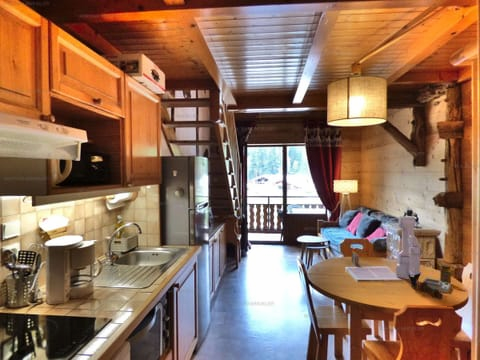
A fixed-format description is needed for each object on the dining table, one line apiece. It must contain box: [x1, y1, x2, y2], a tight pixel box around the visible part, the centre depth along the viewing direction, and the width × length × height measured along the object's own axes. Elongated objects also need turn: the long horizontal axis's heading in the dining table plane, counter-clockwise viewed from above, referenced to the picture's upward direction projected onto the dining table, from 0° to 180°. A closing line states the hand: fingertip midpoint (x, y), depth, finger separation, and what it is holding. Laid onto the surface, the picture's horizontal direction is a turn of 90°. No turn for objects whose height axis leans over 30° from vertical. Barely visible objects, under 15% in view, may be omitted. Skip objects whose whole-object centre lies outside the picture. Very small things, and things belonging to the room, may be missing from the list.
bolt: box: [418, 281, 444, 299], centre depth 190 cm, size 6×5×15 cm
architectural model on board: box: [351, 249, 360, 266], centre depth 254 cm, size 11×3×10 cm, turn 174°
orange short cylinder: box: [410, 279, 419, 289], centre depth 202 cm, size 4×4×6 cm
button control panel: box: [422, 277, 451, 294], centre depth 201 cm, size 14×12×4 cm
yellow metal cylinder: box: [439, 264, 452, 285], centre depth 209 cm, size 7×8×12 cm
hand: (414, 285), depth 202 cm, fingers closed on orange short cylinder, 4 cm apart
